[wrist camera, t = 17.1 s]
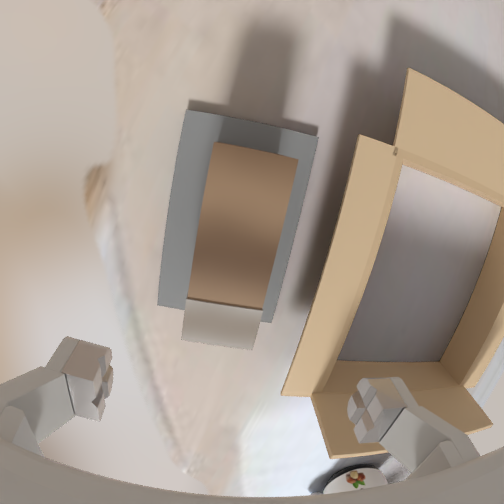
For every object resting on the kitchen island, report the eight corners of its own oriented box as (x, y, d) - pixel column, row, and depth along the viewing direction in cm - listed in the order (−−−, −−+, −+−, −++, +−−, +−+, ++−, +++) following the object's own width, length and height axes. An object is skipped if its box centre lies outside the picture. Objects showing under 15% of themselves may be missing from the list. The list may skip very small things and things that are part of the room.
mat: (187, 110, 22) (186, 109, 21) (316, 137, 23) (318, 137, 22) (158, 301, 27) (157, 305, 26) (270, 319, 28) (271, 322, 28)
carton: (348, 66, 21) (435, 25, 10) (528, 162, 25) (605, 183, 13) (273, 360, 30) (295, 460, 18) (455, 364, 33) (503, 423, 22)
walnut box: (216, 141, 22) (212, 141, 15) (278, 154, 23) (300, 159, 16) (191, 290, 26) (181, 340, 19) (245, 298, 27) (252, 350, 20)
